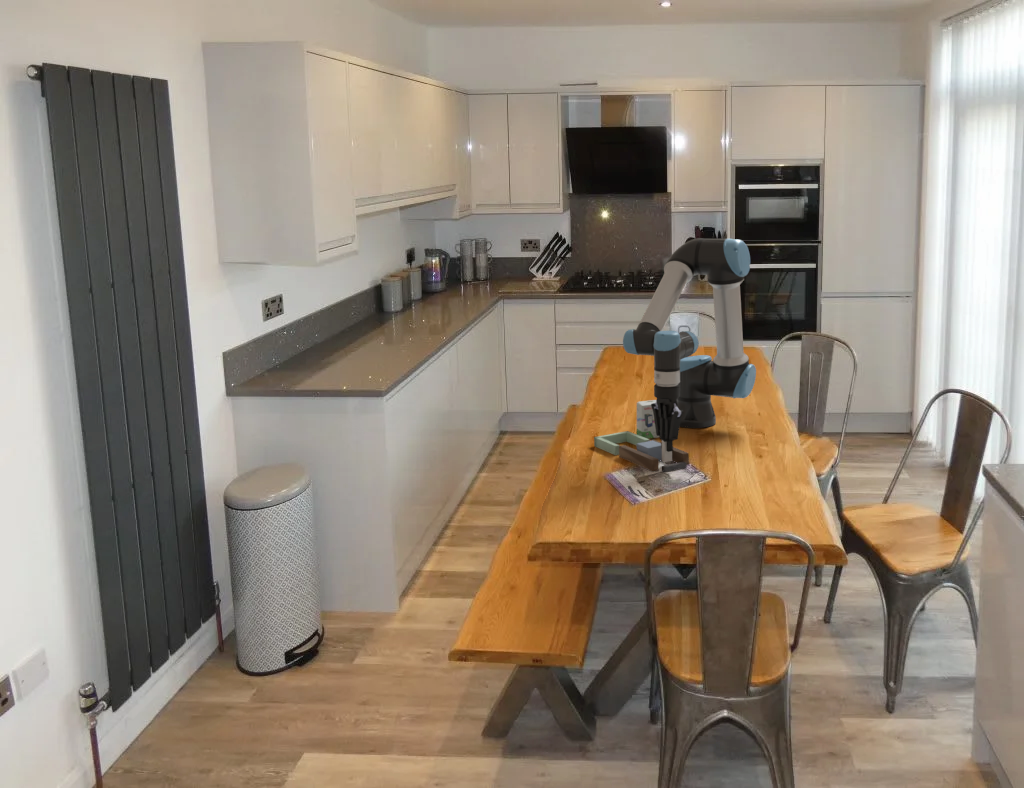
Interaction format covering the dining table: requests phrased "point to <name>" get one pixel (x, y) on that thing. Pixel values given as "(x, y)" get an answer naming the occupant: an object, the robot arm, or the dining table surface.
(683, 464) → the bar
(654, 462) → the channel
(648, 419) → the ink box
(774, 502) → the dining table surface
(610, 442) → the frame
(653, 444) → the block
